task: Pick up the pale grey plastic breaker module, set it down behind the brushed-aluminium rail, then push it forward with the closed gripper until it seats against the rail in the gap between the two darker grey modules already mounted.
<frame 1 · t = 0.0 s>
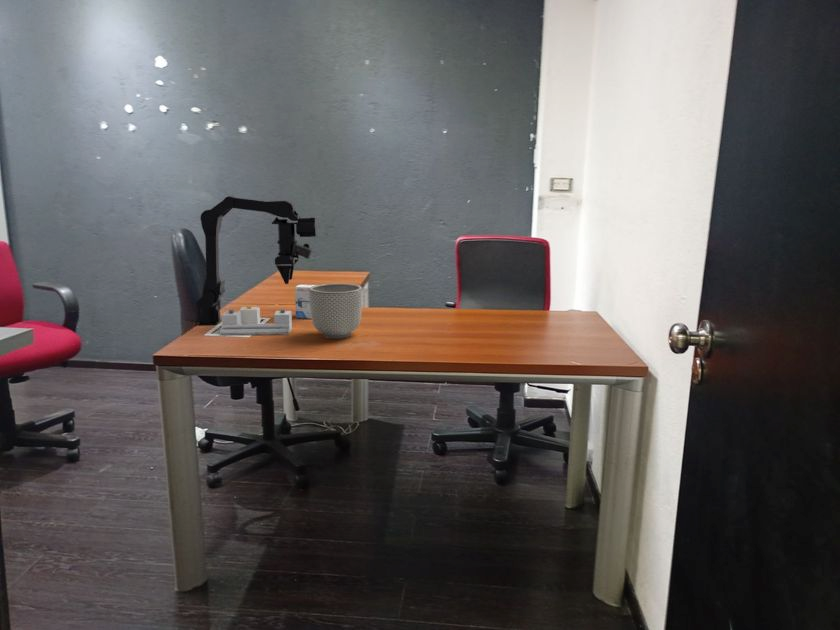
hand: (288, 281, 218), 15 cm above the table, fingers open, 9 cm apart
planter: (336, 336, 203), on the table
ink box: (308, 317, 229), on the table
mounted module a: (232, 330, 208), on the table
rail: (255, 333, 205), on the table
module: (250, 325, 216), on the table
mounted module b: (283, 330, 210), on the table
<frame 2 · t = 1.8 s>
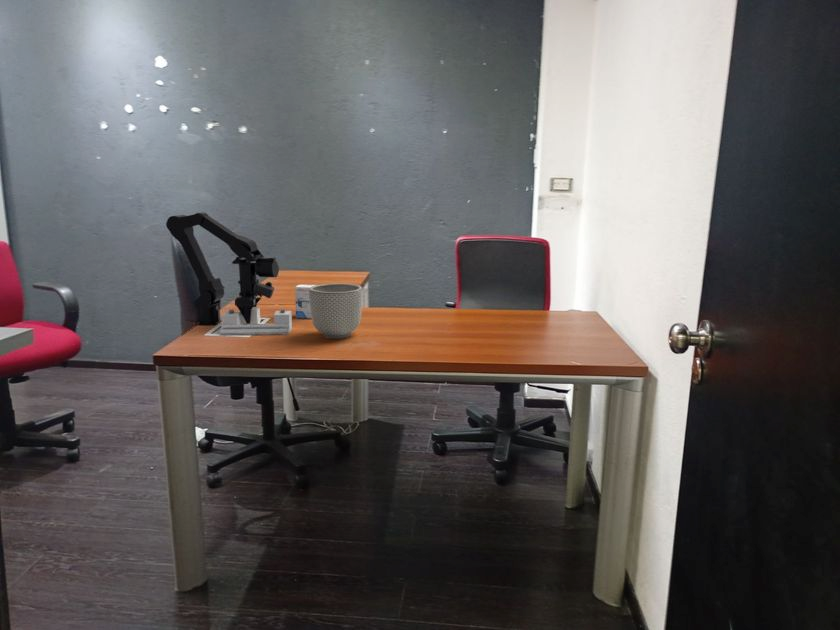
hand: (250, 320, 216), 1 cm above the table, fingers open, 8 cm apart
nothing on the table moved.
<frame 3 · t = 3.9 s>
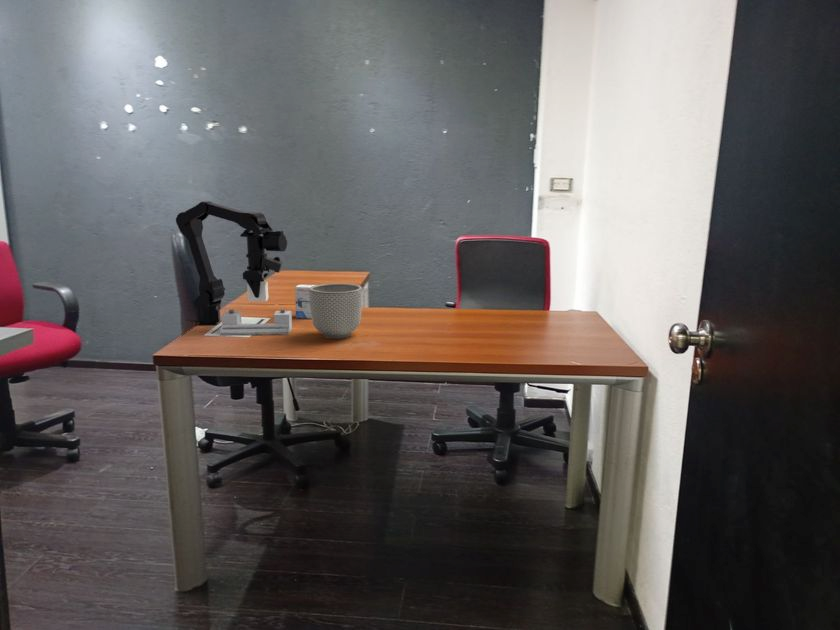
hand: (258, 296, 211), 11 cm above the table, fingers closed on module, 5 cm apart
module: (258, 300, 211), point 10 cm above the table, touching gripper
everything else where it was.
when the fingers open (2 cm above the table, at t = 5.8 s): module drops 1 cm, on the table.
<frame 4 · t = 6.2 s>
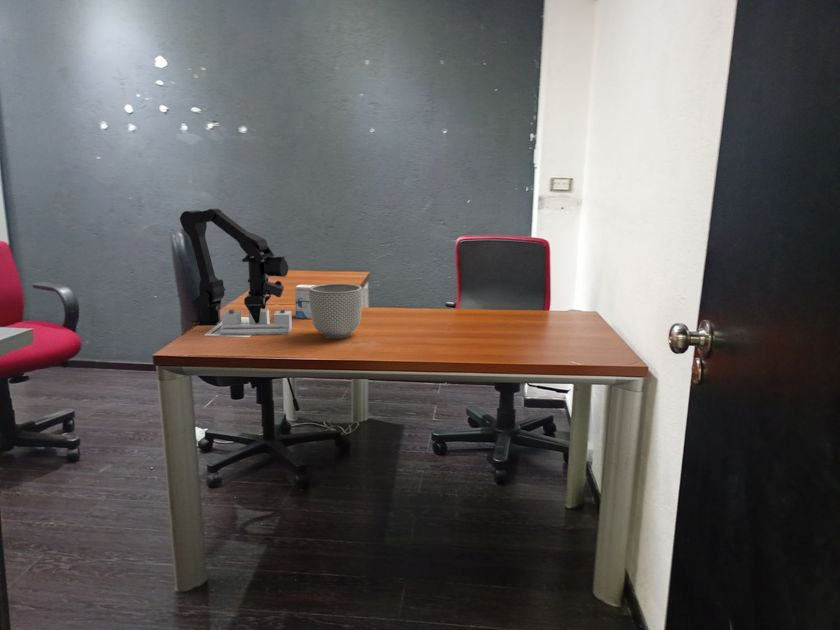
hand: (259, 320, 213), 2 cm above the table, fingers open, 9 cm apart
module: (259, 327, 213), on the table
everything else where it was.
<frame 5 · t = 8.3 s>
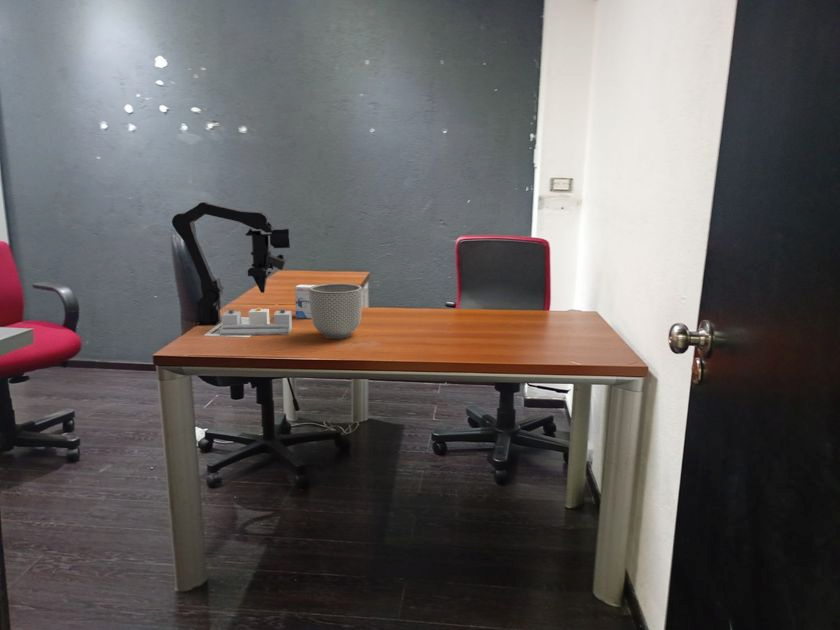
hand: (262, 292, 219), 11 cm above the table, fingers closed
nothing on the table moved.
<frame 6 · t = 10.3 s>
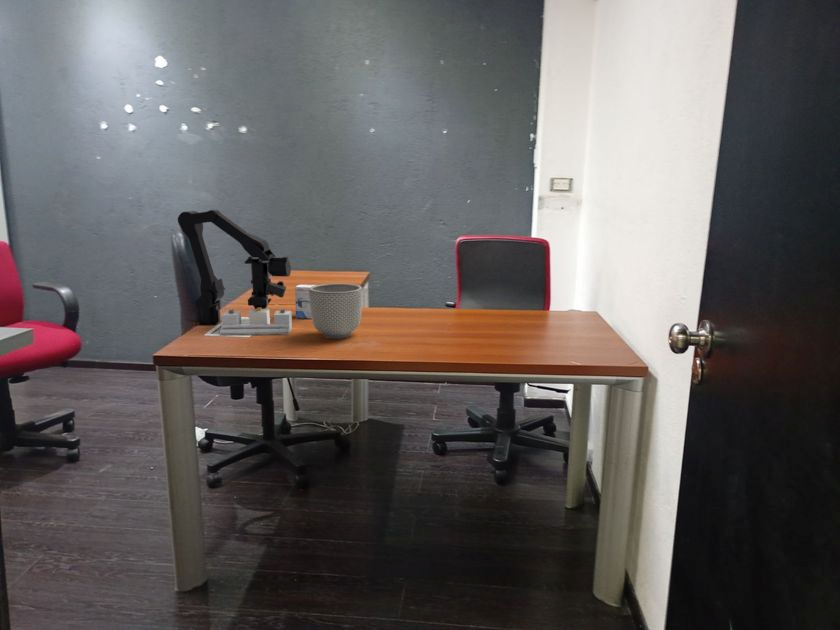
hand: (263, 320, 217), 2 cm above the table, fingers closed
module: (260, 327, 213), on the table, touching gripper
everything else where it was.
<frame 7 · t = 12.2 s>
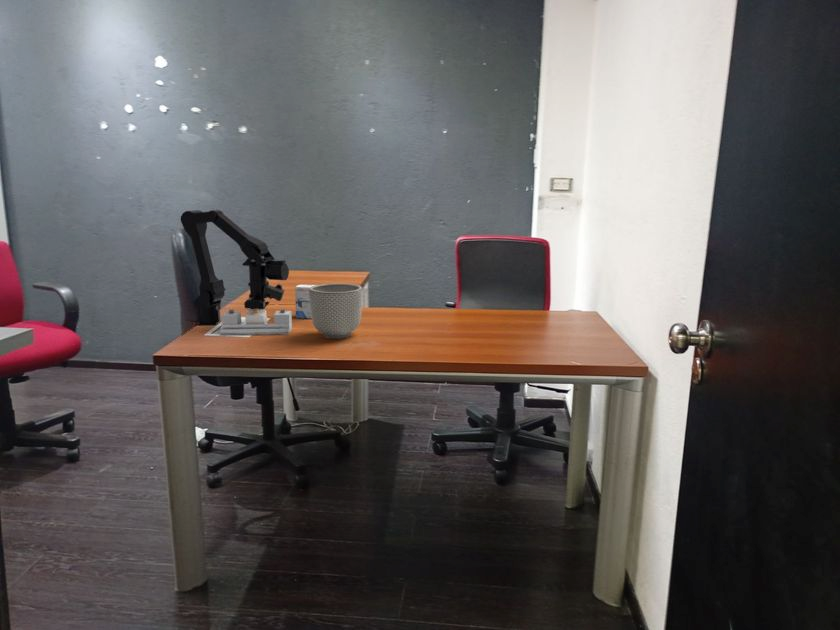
hand: (260, 323, 214), 1 cm above the table, fingers closed
module: (257, 328, 210), point 1 cm above the table, tilted 14°, touching gripper
everything else where it was.
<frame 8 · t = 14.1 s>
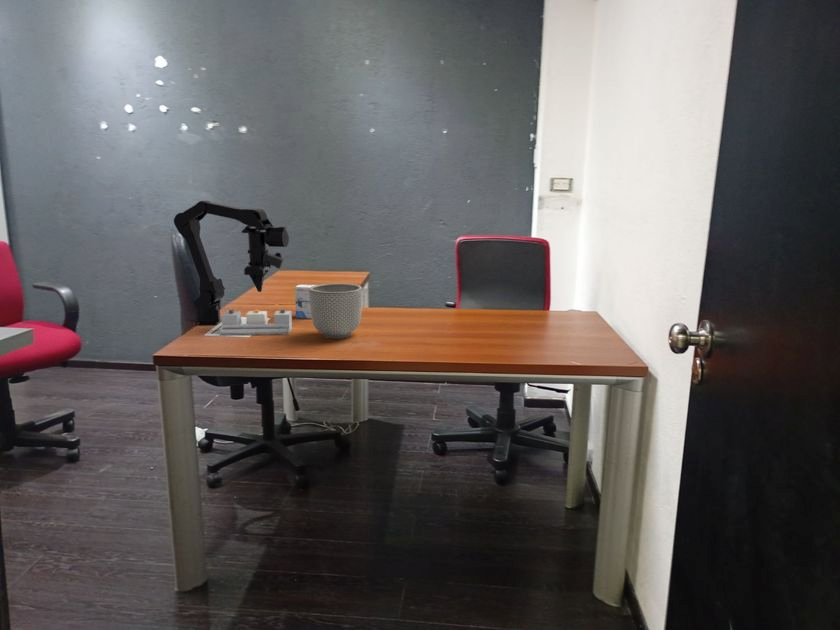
hand: (259, 291, 213), 12 cm above the table, fingers closed
module: (257, 329, 210), on the table
everything else where it was.
at the end: module 1.0 cm from the target spot, on the table; module tilted 0°; the gripper is holding nothing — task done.
